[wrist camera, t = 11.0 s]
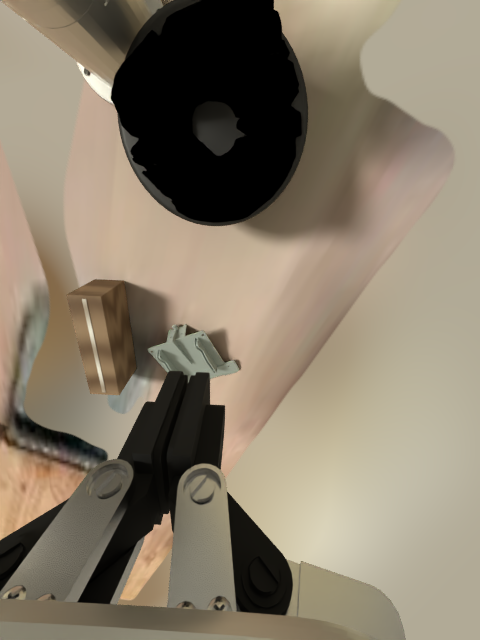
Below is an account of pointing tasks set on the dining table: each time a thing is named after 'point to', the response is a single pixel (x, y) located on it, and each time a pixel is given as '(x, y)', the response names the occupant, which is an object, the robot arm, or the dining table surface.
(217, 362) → the metal bracket
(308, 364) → the dining table surface
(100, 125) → the dining table surface
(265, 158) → the bowl of black rocks
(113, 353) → the block
